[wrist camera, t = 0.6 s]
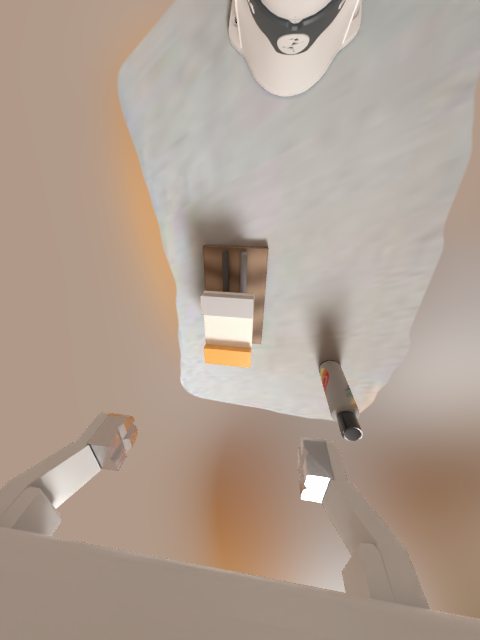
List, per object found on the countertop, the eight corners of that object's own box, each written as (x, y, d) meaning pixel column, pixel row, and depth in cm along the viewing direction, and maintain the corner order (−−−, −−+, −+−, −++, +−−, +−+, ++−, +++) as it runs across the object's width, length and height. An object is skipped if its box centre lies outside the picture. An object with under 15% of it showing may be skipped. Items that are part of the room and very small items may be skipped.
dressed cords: (222, 249, 48) (221, 250, 46) (247, 250, 47) (247, 251, 46) (223, 304, 54) (222, 307, 53) (245, 306, 53) (245, 308, 52)
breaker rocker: (204, 290, 44) (200, 295, 42) (254, 293, 43) (253, 299, 41) (208, 355, 52) (204, 363, 49) (251, 359, 51) (250, 367, 48)
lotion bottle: (315, 373, 62) (332, 441, 45) (322, 358, 59) (344, 423, 42) (335, 378, 62) (360, 448, 44) (344, 362, 59) (374, 430, 42)
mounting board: (205, 245, 49) (203, 246, 48) (268, 247, 48) (268, 249, 46) (209, 336, 61) (208, 339, 59) (261, 340, 59) (261, 344, 58)
